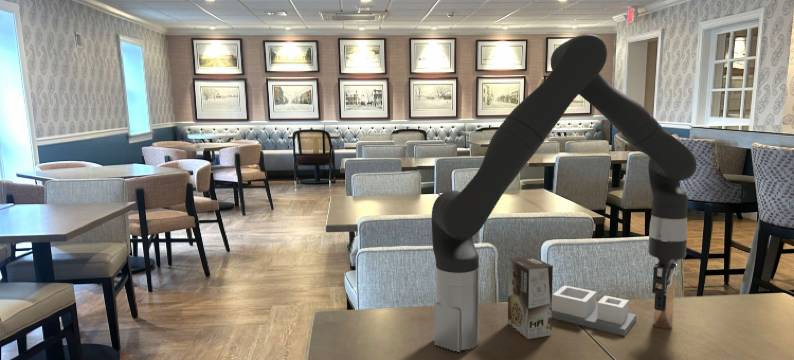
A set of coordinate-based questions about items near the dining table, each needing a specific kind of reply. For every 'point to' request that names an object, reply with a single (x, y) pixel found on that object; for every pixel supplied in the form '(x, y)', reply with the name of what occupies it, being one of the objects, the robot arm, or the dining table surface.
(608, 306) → the socket plate
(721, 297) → the dining table surface
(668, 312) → the copper pipe
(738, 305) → the dining table surface
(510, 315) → the coffee box
